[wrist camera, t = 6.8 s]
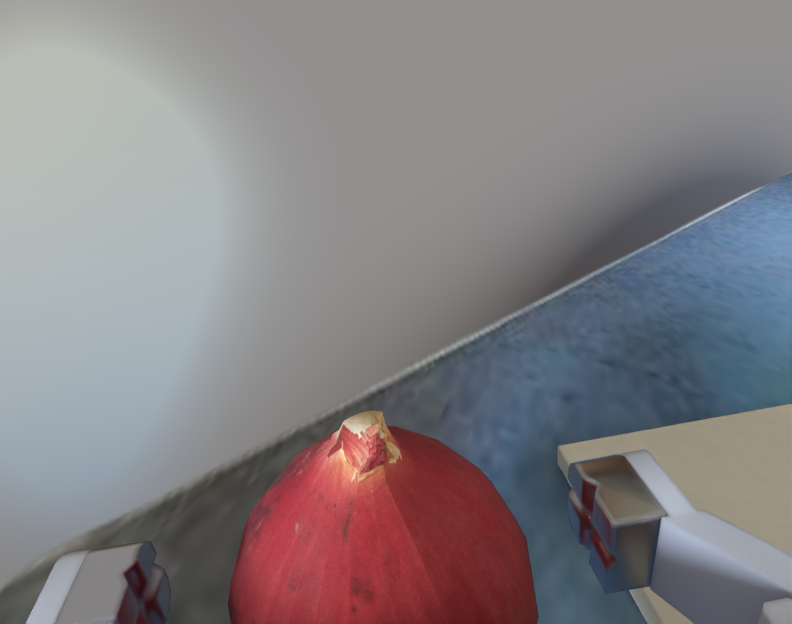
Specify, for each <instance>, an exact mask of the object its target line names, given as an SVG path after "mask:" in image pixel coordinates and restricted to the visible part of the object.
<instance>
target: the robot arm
mask: <svg viewBox="0 0 792 624" xmlns="http://www.w3.org/2000/svg"><path fill="white" fill-rule="evenodd" d="M568 479H569V481H570V483H571V485H572V487H573V488H572V489H571V490H570V491H569V493H568V494H567V510H568V515H569V520H570V523H571V526H572V529H573V532H574V534H575V536H576V538H577V540H578V542H579V543H580V544H581V545H583V546H584V547H586V548H587V549H589V550H590V560H589V563H590V565H591V567H592V569H593V571H594V573H595V575H596V577H597V579H598V581H599V583H600V584H601V586H602V588H603V590H604V592H605V594H608V593H614V592H620V591H626V590H632V589H638V588H644V587H650V589H651V590H652V591H653V592H654V593H656V594H657V595H658V596H660V597H661V598H662V599H663V600H665V601H666V602H667V603H669V604H670V605H671V606H672V607H674V608H675V609H676V610H678V611H679V612H680V613H681V614H683V615H684V616H685V617H687V618H688V619H689V620H690V621H692V622H693V623H694V624H792V554H791V553H789V552H787V551H785V550H783V549H781V548H779V547H777V546H775V545H773V544H771V543H769V542H767V541H765V540H764V539H762V538H760V537H758V536H756V535H754V534H752V533H750V532H748V531H746V530H744V529H742V528H740V527H738V526H736V525H734V524H732V523H730V522H728V521H726V520H724V519H722V518H720V517H718V516H716V515H714V514H712V513H710V512H709V511H707V510H700V511H697V510H696V509H695V507H694V506H693V505H692V504H691V502H690V501H689V500H688V499H687V497H686V496H685V495H684V494H683V493H682V491H681V490H680V489H679V488H678V486H677V485H676V484H675V483H674V481H673V480H672V479H671V478H670V476H669V475H668V474H667V473H666V471H665V470H664V469H663V468H662V466H661V465H660V464H659V463H658V461H657V460H656V459H655V458H654V457H653V455H652V454H651V453H650V452H649V451H647V450H645V449H642V450H637V451H631V452H626V453H621V454H619V455H618V454H615V455H610V456H605V457H600V458H594V459H589V460H584V461H579V462H574V463H570V466H569V468H568ZM156 555H157V552H156V550H155V548H154V546H153V545H152V543H151V541H140V542H134V543H127V544H121V545H114V546H108V547H102V548H95V549H92V550H85V551H79V552H73V553H66V554H64V555H63V556H62V557H61V558H60V559H58V560H57V562H56V564H55V566H54V568H53V570H52V572H51V574H50V576H49V578H48V580H47V582H46V584H45V586H44V588H43V590H42V592H41V594H40V596H39V598H38V600H37V602H36V604H35V606H34V608H33V610H32V612H31V614H30V616H29V618H28V620H27V622H26V624H165V623H166V622H167V618H168V614H169V609H170V596H171V589H170V584H169V579H168V576H167V574H166V571H165V569H164V568H162V567H160V566H158V565H156V564H154V561H155V558H156Z"/></svg>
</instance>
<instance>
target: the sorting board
mask: <svg viewBox="0 0 792 624" xmlns="http://www.w3.org/2000/svg"><path fill="white" fill-rule="evenodd" d="M642 449H645V450H647V451H649V452H650V453H651V454H652V455H653V457H654V458H655V459H656V460H657V461H658V463H659V464H660V465H661V466H662V468H663V469H664V470H665V471H666V473H667V474H668V475H669V476H670V478H671V479H672V480H673V481H674V483H675V484H676V485H677V486H678V488H679V489H680V490H681V491H682V493H683V494H684V495H685V496H686V497H687V499H688V500H689V501H690V502H691V504H692V505H693V506H694V507H695V509H696V510H697V511H700V510H707V511H709V512H710V513H712V514H714V515H716V516H718V517H720V518H722V519H724V520H726V521H728V522H730V523H732V524H734V525H736V526H738V527H740V528H742V529H744V530H746V531H748V532H750V533H752V534H754V535H756V536H758V537H760V538H762V539H764V540H765V541H767V542H769V543H771V544H773V545H775V546H777V547H779V548H781V549H783V550H785V551H787V552H789V553H791V554H792V403H791V404H785V405H780V406H774V407H769V408H763V409H758V410H752V411H747V412H741V413H736V414H730V415H725V416H719V417H714V418H708V419H703V420H697V421H692V422H686V423H681V424H675V425H670V426H664V427H659V428H653V429H648V430H642V431H637V432H631V433H626V434H620V435H615V436H609V437H604V438H598V439H593V440H587V441H582V442H576V443H571V444H565V445H560V446H558V465H559V467H560V468H561V470H562V472H563V474H564V476H565V477H566V479H567V481H568V483H569V485H570V486H571V488H573V487H572V485H571V483H570V481H569V479H568V468H569V466H570V463H574V462H579V461H584V460H589V459H594V458H600V457H605V456H610V455H615V454H618V455H619V454H621V453H626V452H631V451H637V450H642ZM629 592H630V593H631V595H632V597H633V599H634V601H635V602H636V604H637V606H638V608H639V609H640V611H641V613H642V615H643V617H644V618H645V620H646V622H647V624H694V623H693V622H692V621H690V620H689V619H688V618H687V617H685V616H684V615H683V614H681V613H680V612H679V611H678V610H676V609H675V608H674V607H672V606H671V605H670V604H669V603H667V602H666V601H665V600H663V599H662V598H661V597H660V596H658V595H657V594H656V593H654V592H653V591H652V590H651V589H650V587H644V588H638V589H632V590H629Z"/></svg>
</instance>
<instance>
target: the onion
mask: <svg viewBox="0 0 792 624" xmlns="http://www.w3.org/2000/svg"><path fill="white" fill-rule="evenodd" d="M228 607H229V613H230V619H231V624H537V621H538V610H537V604H536V597H535V591H534V584H533V578H532V571H531V565H530V559H529V553H528V548H527V542H526V538H525V536H524V534H523V533H522V531H521V529H520V527H519V525H518V523H517V521H516V519H515V518H514V516H513V515H512V513H511V512H510V510H509V508H508V507H507V505H506V504H505V502H504V501H503V499H502V498H501V496H500V495H499V493H498V492H497V490H496V489H495V487H494V485H493V484H492V482H491V481H490V480H489V479H488V478H487V477H486V476H485V474H484V473H483V472H482V471H481V470H480V469H479V468H478V467H476V466H475V465H473V464H472V463H471V462H469V461H468V460H466V459H465V458H463V457H462V456H460V455H459V454H457V453H456V452H454V451H453V450H451V449H450V448H449V447H447V446H446V445H444V444H443V443H441V442H440V441H438V440H436V439H434V438H431V437H428V436H425V435H422V434H418V433H415V432H412V431H409V430H405V429H402V428H399V427H394V426H386V424H385V421H384V417H383V414H382V411H371V410H369V411H366V412H362V413H359V414H356V415H354V416H352V417H350V418H348V419H346V420H345V421H344V422H343V424H342V426H341V428H340V429H339V430H338V431H336V432H333V433H331V434H329V435H328V436H326V437H324V438H323V439H321V440H320V441H318V442H316V443H315V444H313V445H312V446H310V447H308V448H307V449H305V450H304V451H302V452H300V453H299V454H298V455H297V456H295V457H294V458H293V459H292V460H291V461H290V462H289V464H288V465H287V466H286V467H285V469H284V470H283V471H282V472H281V474H280V475H279V476H278V477H277V479H276V480H275V481H274V483H273V484H272V485H271V486H270V488H269V489H268V490H267V491H266V493H265V494H264V495H263V496H262V498H261V499H260V500H259V502H258V503H257V504H256V505H255V507H254V508H253V509H252V511H251V514H250V516H249V518H248V521H247V523H246V526H245V530H244V534H243V538H242V542H241V546H240V550H239V554H238V557H237V561H236V565H235V569H234V573H233V577H232V581H231V588H230V595H229V601H228Z"/></svg>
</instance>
